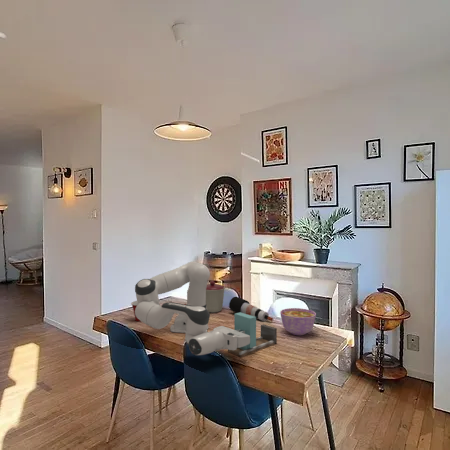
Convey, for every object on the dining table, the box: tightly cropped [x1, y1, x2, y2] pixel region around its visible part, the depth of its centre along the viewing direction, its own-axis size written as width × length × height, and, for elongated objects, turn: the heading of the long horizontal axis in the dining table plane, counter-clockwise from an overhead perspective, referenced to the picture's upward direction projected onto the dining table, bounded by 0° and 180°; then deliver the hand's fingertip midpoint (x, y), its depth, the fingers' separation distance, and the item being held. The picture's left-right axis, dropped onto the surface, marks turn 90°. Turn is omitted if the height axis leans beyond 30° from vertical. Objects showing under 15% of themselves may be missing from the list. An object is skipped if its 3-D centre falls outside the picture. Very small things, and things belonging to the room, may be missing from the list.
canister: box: [206, 280, 226, 314], centre depth 237 cm, size 18×18×21 cm
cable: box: [228, 296, 274, 322], centre depth 221 cm, size 10×34×10 cm, turn 39°
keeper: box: [233, 312, 257, 350], centre depth 165 cm, size 5×11×16 cm, turn 42°
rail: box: [227, 324, 278, 358], centre depth 169 cm, size 26×9×8 cm, turn 132°
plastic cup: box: [130, 300, 141, 322], centre depth 214 cm, size 11×11×12 cm
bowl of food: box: [279, 307, 317, 336], centre depth 190 cm, size 20×20×12 cm
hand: (242, 331), depth 163 cm, fingers closed, pressing on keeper
